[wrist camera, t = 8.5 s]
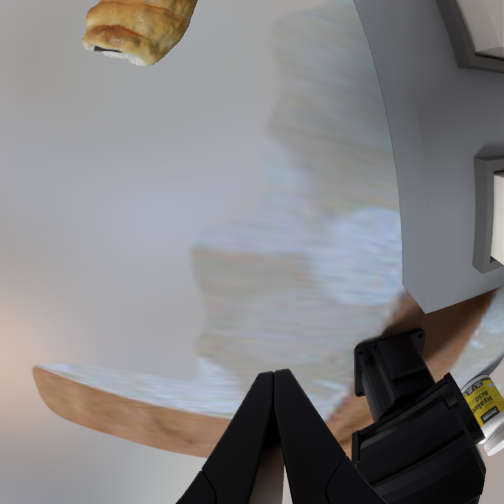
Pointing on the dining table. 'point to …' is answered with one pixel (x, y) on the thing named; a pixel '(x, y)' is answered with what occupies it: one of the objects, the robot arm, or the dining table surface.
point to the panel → (440, 145)
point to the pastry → (137, 28)
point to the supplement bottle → (487, 411)
